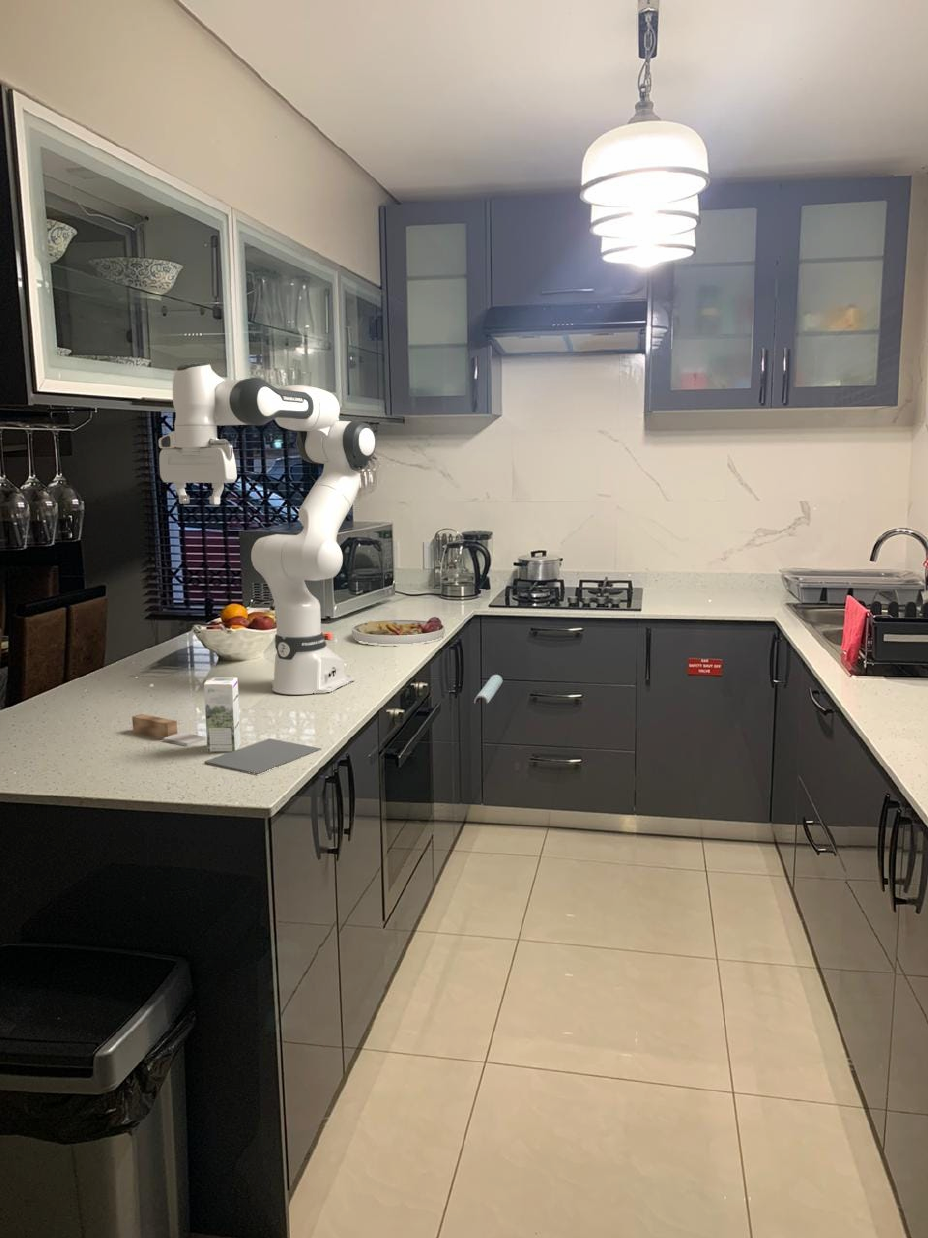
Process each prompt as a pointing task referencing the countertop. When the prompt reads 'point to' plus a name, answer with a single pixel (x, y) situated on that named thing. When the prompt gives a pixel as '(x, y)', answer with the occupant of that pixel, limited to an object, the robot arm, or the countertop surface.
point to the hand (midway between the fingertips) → (199, 503)
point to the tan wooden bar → (163, 730)
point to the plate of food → (399, 631)
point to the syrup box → (222, 714)
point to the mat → (262, 756)
